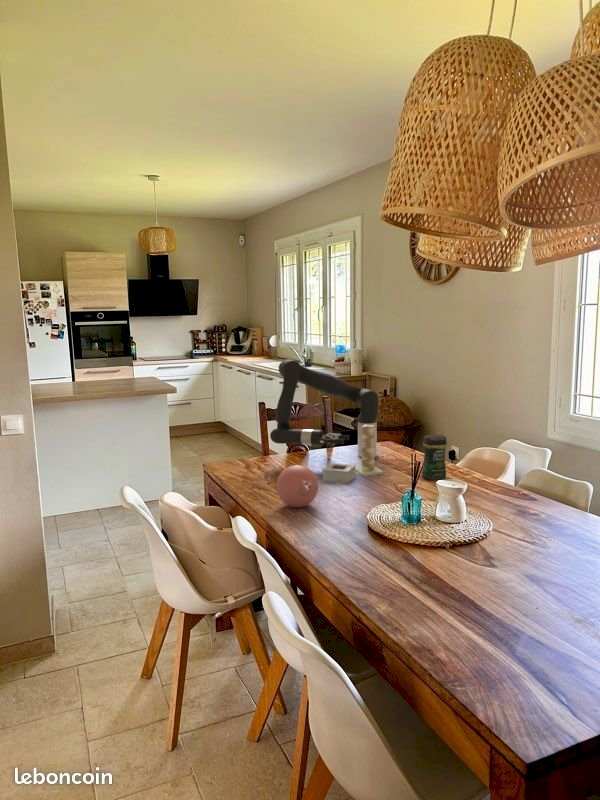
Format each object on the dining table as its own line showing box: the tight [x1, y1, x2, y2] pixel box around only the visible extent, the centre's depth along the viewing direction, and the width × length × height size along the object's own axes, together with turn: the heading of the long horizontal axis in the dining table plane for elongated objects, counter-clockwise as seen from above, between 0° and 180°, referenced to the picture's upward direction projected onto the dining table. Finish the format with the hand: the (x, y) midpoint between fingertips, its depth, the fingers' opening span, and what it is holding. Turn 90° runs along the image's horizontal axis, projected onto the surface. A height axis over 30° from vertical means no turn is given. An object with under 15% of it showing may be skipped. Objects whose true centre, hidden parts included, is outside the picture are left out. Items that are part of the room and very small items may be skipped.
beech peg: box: [361, 425, 375, 471], centre depth 252 cm, size 4×4×20 cm
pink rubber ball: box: [275, 464, 319, 508], centre depth 206 cm, size 15×20×15 cm
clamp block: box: [322, 462, 356, 484], centre depth 243 cm, size 11×11×5 cm
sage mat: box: [355, 465, 384, 477], centre depth 253 cm, size 10×10×1 cm
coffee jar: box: [421, 434, 448, 481], centre depth 241 cm, size 10×8×19 cm
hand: (346, 439), depth 255 cm, fingers open, 8 cm apart
